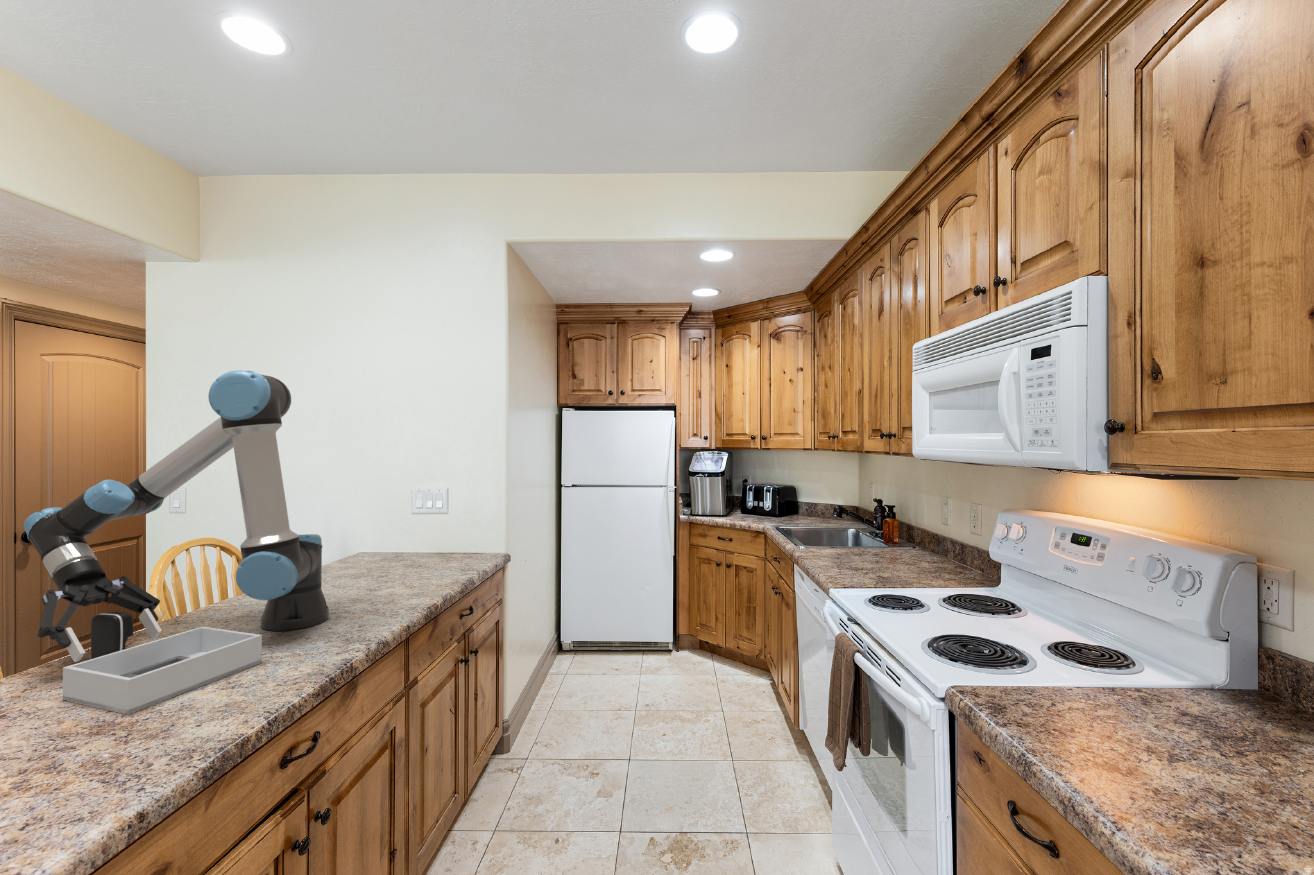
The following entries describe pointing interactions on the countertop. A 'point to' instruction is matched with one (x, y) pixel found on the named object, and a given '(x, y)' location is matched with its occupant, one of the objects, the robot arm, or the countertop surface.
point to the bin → (160, 669)
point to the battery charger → (110, 633)
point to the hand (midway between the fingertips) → (120, 646)
